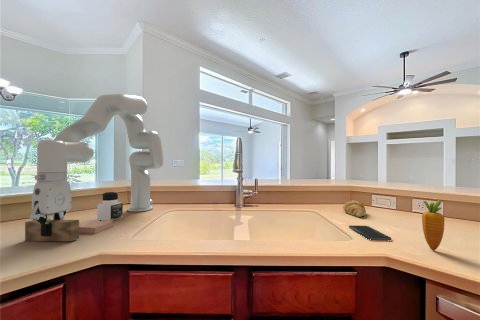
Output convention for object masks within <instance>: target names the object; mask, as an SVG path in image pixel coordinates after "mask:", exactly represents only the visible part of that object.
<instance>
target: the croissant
mask: <svg viewBox="0 0 480 320" xmlns="http://www.w3.org/2000/svg"><path fill="white" fill-rule="evenodd" d="M342 209H343V211H344V212H345V213H347V214H349V215H351V216H354V215H355V216H354V217H358V218H361V217H362V216H363V217H365V215H366V214H367V211H366V208H365V205H364V204H363V203H362V202H360V201H358V200H355V199H352V200H349V201H346V203H344V205H343V207H342Z"/></svg>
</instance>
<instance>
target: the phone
mask: <svg viewBox="0 0 480 320" xmlns="http://www.w3.org/2000/svg"><path fill="white" fill-rule="evenodd" d="M348 229H350V230H351V231H353V232H355V233H356V234H358V235H359V234H360V236H361V235H362V236H361V237H363V236H364V237H365V238H364V237H363V238H364V239H366V238H367V239H366V240H368V239H371V240H391V241H392V237H391V236H390V235H389V236H388V235H387V234H385V233H383V232H381V231H379V230H377V229H375V228H373V227H370V226H369V225H348Z"/></svg>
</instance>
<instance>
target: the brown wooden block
mask: <svg viewBox="0 0 480 320" xmlns="http://www.w3.org/2000/svg"><path fill="white" fill-rule="evenodd" d="M50 223H52V235H51V236H41V224H39V222H38V221H36V220H33V219H31V220H29V221H25V222H24V241H25V242H73V241H75V240H78V239H80V233H79V225H80V219H63V220H53V219H50Z"/></svg>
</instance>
